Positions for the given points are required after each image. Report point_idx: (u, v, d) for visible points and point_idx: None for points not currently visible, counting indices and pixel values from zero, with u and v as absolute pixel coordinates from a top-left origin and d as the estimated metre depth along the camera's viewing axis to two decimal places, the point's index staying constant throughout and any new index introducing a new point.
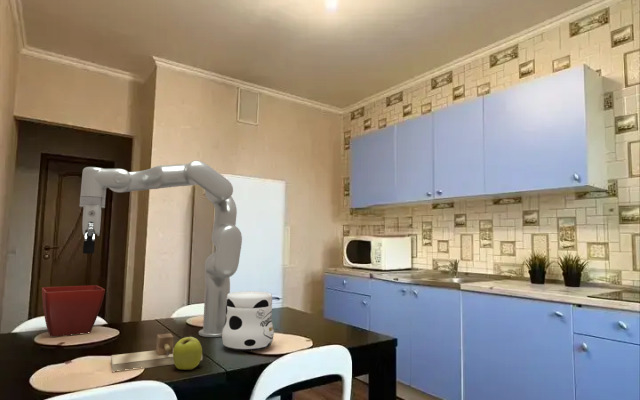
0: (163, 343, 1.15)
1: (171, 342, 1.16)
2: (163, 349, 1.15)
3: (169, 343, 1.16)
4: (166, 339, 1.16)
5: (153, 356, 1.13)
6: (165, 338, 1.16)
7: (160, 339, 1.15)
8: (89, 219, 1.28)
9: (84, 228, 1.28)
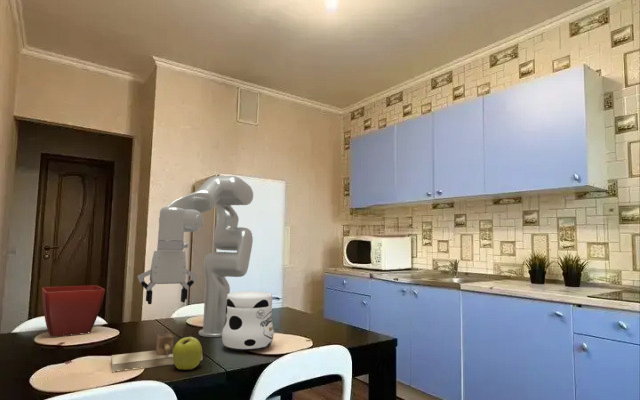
0: (163, 343, 1.15)
1: (171, 342, 1.16)
2: (163, 349, 1.15)
3: (169, 343, 1.16)
4: (166, 339, 1.16)
5: (153, 356, 1.13)
6: (165, 338, 1.16)
7: (160, 339, 1.15)
8: (185, 266, 1.22)
9: (185, 275, 1.21)
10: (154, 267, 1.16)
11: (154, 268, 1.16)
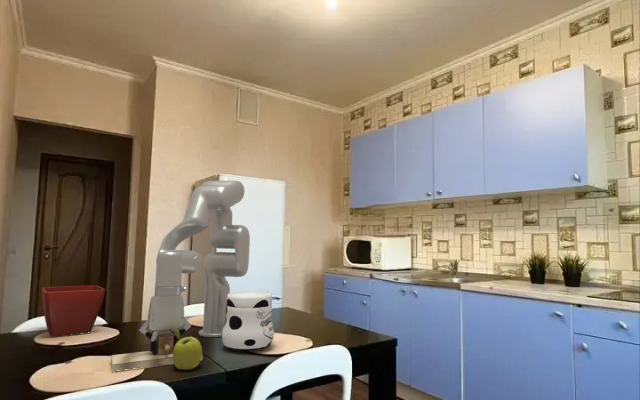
0: (163, 343, 1.15)
1: (171, 342, 1.16)
2: (163, 349, 1.15)
3: (169, 343, 1.16)
4: (166, 339, 1.16)
5: (153, 356, 1.13)
6: (165, 338, 1.16)
7: (160, 339, 1.15)
8: None
9: (183, 321, 1.19)
10: (151, 314, 1.15)
11: (151, 315, 1.15)
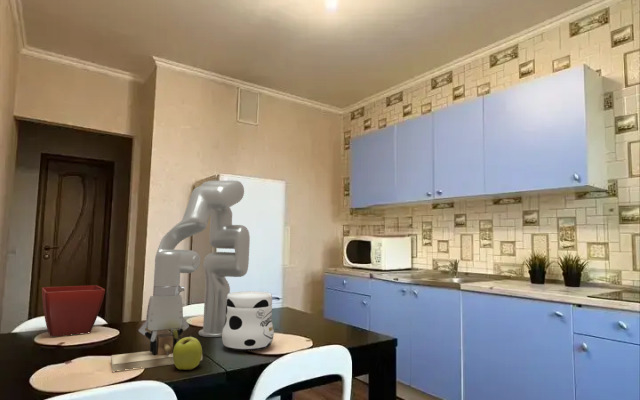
0: (163, 343, 1.15)
1: (171, 342, 1.16)
2: (163, 349, 1.15)
3: (169, 343, 1.16)
4: (166, 339, 1.16)
5: (153, 356, 1.13)
6: (165, 338, 1.15)
7: (160, 339, 1.15)
8: None
9: (182, 320, 1.19)
10: (150, 314, 1.14)
11: (150, 315, 1.14)
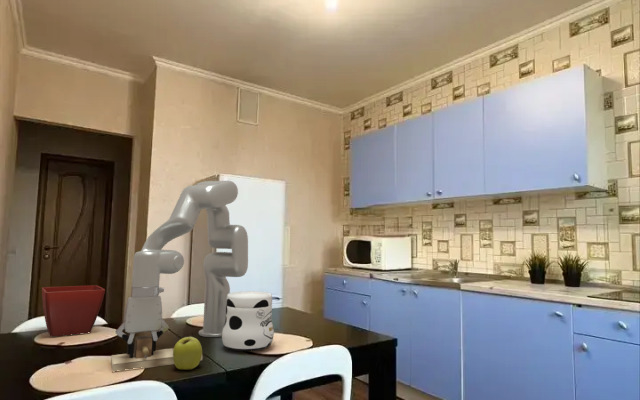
0: (141, 345, 1.12)
1: (150, 344, 1.13)
2: (141, 352, 1.12)
3: (147, 345, 1.13)
4: (144, 341, 1.13)
5: (153, 356, 1.13)
6: (143, 340, 1.12)
7: (138, 341, 1.12)
8: None
9: (161, 322, 1.16)
10: (128, 316, 1.11)
11: (128, 317, 1.11)
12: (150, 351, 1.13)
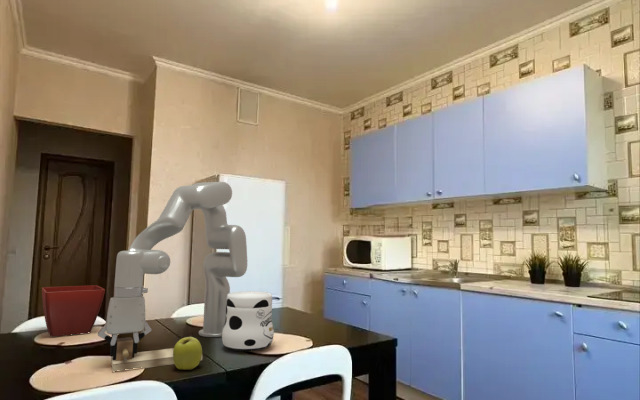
0: (121, 348, 1.09)
1: (130, 347, 1.10)
2: (121, 354, 1.09)
3: (128, 348, 1.10)
4: (125, 344, 1.10)
5: (153, 356, 1.13)
6: (124, 343, 1.10)
7: (118, 344, 1.09)
8: None
9: (144, 323, 1.14)
10: (109, 317, 1.09)
11: (109, 318, 1.09)
12: (131, 354, 1.10)
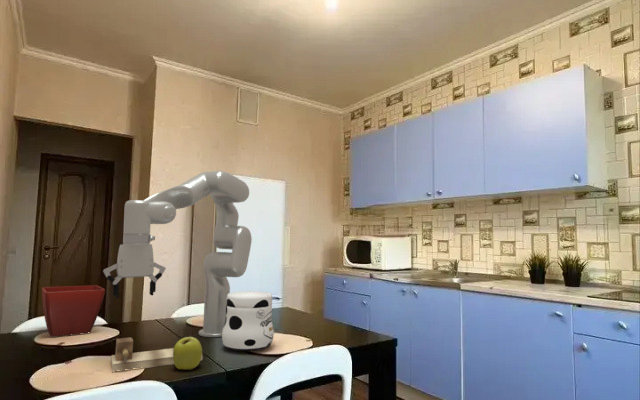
0: (121, 348, 1.09)
1: (130, 347, 1.10)
2: (121, 354, 1.09)
3: (128, 348, 1.10)
4: (125, 344, 1.10)
5: (153, 356, 1.13)
6: (124, 343, 1.10)
7: (118, 344, 1.09)
8: (153, 259, 1.22)
9: (153, 268, 1.20)
10: (120, 261, 1.15)
11: (120, 262, 1.15)
12: (131, 354, 1.10)
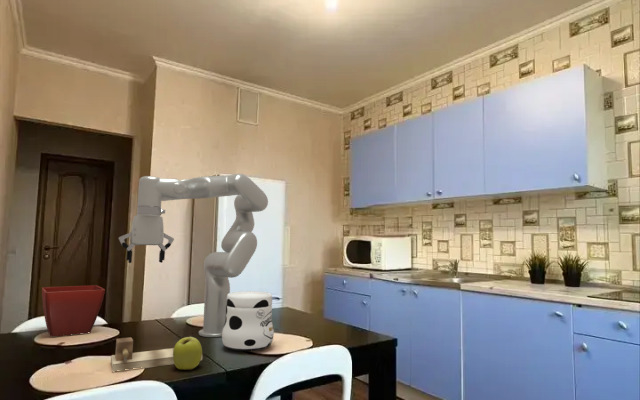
0: (121, 348, 1.09)
1: (130, 347, 1.10)
2: (121, 354, 1.09)
3: (128, 348, 1.10)
4: (125, 344, 1.10)
5: (153, 356, 1.13)
6: (124, 343, 1.10)
7: (118, 344, 1.09)
8: (163, 230, 1.35)
9: None
10: (134, 230, 1.29)
11: (134, 230, 1.29)
12: (131, 354, 1.10)
